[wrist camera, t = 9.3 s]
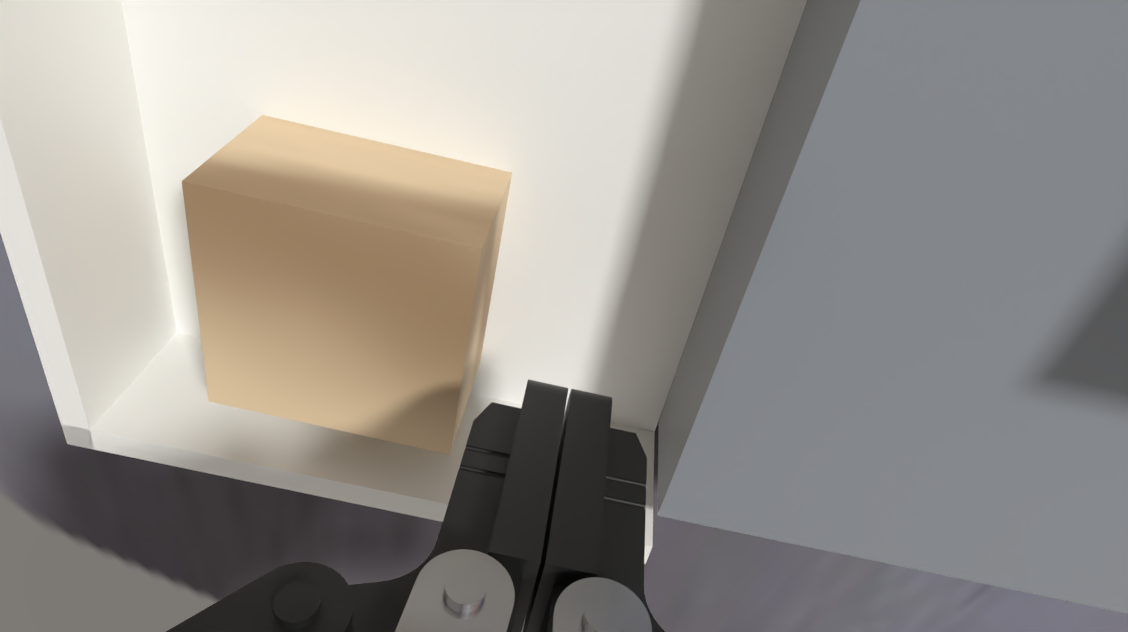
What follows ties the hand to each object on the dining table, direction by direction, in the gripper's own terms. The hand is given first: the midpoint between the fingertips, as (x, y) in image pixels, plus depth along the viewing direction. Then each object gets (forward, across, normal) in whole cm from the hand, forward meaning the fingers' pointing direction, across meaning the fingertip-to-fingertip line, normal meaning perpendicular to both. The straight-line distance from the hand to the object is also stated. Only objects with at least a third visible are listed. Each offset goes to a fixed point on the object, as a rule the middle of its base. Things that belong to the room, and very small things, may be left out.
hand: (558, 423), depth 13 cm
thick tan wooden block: (+1, +4, 0) cm, 4 cm away
